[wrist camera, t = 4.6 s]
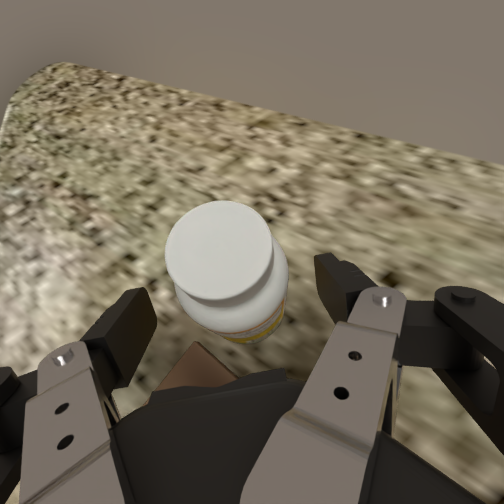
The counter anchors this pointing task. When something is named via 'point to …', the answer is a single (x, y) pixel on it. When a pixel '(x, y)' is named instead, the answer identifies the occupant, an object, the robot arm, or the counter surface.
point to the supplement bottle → (228, 271)
